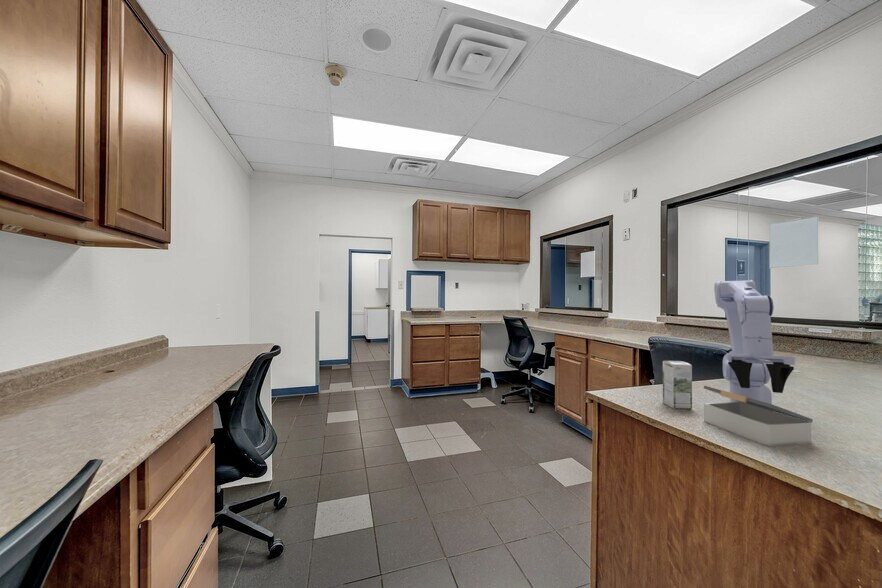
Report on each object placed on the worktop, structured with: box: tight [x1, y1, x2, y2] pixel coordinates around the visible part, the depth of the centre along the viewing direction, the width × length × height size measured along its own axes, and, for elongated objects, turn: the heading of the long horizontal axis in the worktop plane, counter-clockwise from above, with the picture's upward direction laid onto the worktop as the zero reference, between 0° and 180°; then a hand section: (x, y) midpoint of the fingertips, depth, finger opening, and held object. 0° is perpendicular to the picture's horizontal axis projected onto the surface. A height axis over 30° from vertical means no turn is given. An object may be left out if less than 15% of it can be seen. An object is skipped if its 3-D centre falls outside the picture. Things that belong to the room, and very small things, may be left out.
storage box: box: [703, 401, 812, 448], centre depth 83 cm, size 12×16×5 cm
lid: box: [703, 385, 813, 423], centre depth 83 cm, size 13×16×1 cm
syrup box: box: [662, 360, 693, 410], centre depth 102 cm, size 6×6×14 cm
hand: (760, 390), depth 83 cm, fingers open, 7 cm apart
